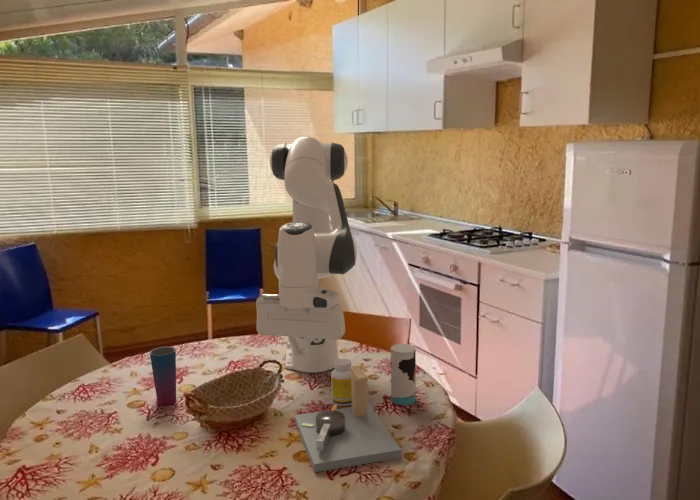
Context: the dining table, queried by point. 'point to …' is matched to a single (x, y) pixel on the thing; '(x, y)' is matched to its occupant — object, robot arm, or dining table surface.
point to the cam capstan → (329, 426)
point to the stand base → (350, 434)
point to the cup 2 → (403, 374)
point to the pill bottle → (341, 382)
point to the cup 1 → (164, 374)
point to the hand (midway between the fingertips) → (301, 354)
